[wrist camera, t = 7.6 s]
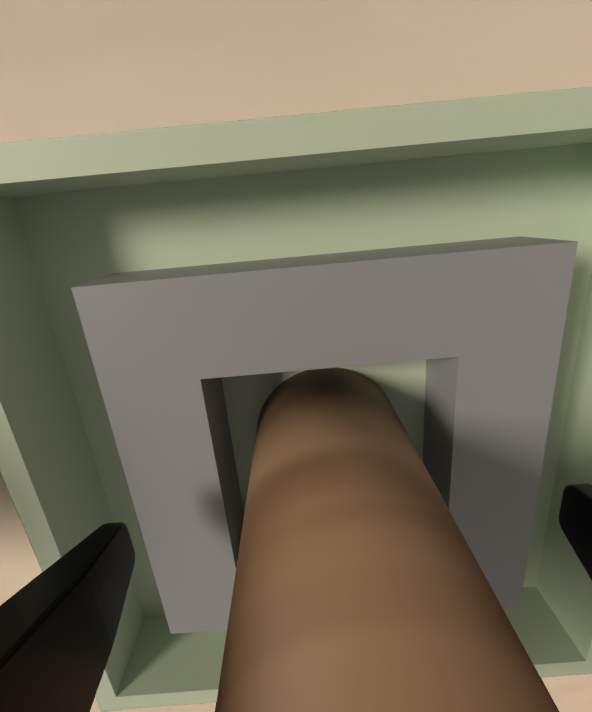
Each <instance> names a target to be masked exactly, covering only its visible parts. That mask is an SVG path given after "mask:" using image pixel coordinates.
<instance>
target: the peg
mask: <svg viewBox="0 0 592 712" xmlns="http://www.w3.org/2000/svg"><path fill="white" fill-rule="evenodd" d="M215 712H559V710H558V709H557V707H556V705H555V703H554V701H553V699H552V698H551V696H550V694H549V692H548V690H547V688H546V687H545V685H544V683H543V681H542V679H541V677H540V676H539V674H538V672H537V670H536V668H535V666H534V665H533V663H532V661H531V659H530V657H529V655H528V654H527V652H526V650H525V648H524V646H523V644H522V643H521V641H520V639H519V637H518V635H517V633H516V632H515V630H514V628H513V626H512V624H511V622H510V621H509V619H508V617H507V615H506V613H505V611H504V610H503V608H502V606H501V604H500V602H499V600H498V599H497V597H496V595H495V593H494V591H493V590H492V588H491V586H490V584H489V582H488V580H487V579H486V577H485V575H484V573H483V571H482V569H481V568H480V566H479V564H478V562H477V560H476V558H475V557H474V555H473V553H472V551H471V549H470V547H469V546H468V544H467V542H466V540H465V538H464V536H463V535H462V533H461V531H460V529H459V527H458V525H457V524H456V522H455V520H454V518H453V516H452V514H451V513H450V511H449V509H448V507H447V505H446V503H445V502H444V500H443V498H442V496H441V494H440V492H439V491H438V489H437V487H436V485H435V483H434V481H433V480H432V478H431V476H430V474H429V472H428V470H427V469H426V467H425V465H424V463H423V461H422V459H421V458H420V456H419V454H418V452H417V450H416V448H415V447H414V445H413V443H412V441H411V439H410V437H409V436H408V434H407V432H406V430H405V428H404V426H403V425H402V423H401V421H400V419H399V417H398V415H397V414H396V412H395V410H394V408H393V406H392V404H391V403H390V401H389V399H388V397H387V396H386V394H385V393H384V392H383V390H382V389H381V388H380V387H379V386H378V385H377V384H376V383H375V382H373V381H372V380H370V379H369V378H368V377H366V376H364V375H362V374H360V373H358V372H355V371H352V370H349V369H344V368H338V367H335V368H324V369H312V370H306V371H302V372H300V373H298V374H295V375H293V376H291V377H290V378H288V379H286V380H285V381H284V382H282V383H281V384H280V385H278V386H277V387H276V388H275V389H274V390H273V391H272V393H271V394H270V395H269V396H268V398H267V399H266V401H265V403H264V405H263V407H262V409H261V412H260V415H259V419H258V424H257V431H256V438H255V445H254V452H253V458H252V465H251V472H250V479H249V485H248V492H247V499H246V506H245V512H244V519H243V526H242V533H241V539H240V546H239V553H238V560H237V566H236V573H235V580H234V587H233V594H232V600H231V607H230V614H229V621H228V627H227V634H226V641H225V648H224V654H223V661H222V668H221V675H220V681H219V688H218V695H217V702H216V708H215Z"/></svg>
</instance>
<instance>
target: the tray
mask: <svg viewBox="0 0 592 712" xmlns="http://www.w3.org/2000/svg"><path fill="white" fill-rule="evenodd" d="M335 367H338V368H344V369H349V370H352V371H355V372H358V373H360V374H362V375H364V376H366V377H368V378H369V379H370V380H372V381H373V382H375V383H376V384H377V385H378V386H379V387H380V388H381V389H382V390H383V392H384V393H385V394H386V396H387V397H388V399H389V401H390V403H391V404H392V406H393V408H394V410H395V412H396V414H397V415H398V417H399V419H400V421H401V423H402V425H403V426H404V428H405V430H406V432H407V434H408V436H409V437H410V439H411V441H412V443H413V445H414V447H415V448H416V450H417V452H418V454H419V456H420V458H421V459H422V461H423V463H424V465H425V467H426V469H427V470H428V472H429V474H430V476H431V478H432V480H433V481H434V483H435V485H436V487H437V489H438V491H439V492H440V494H441V496H442V498H443V500H444V502H445V503H446V505H447V507H448V509H449V511H450V513H451V514H452V516H453V518H454V520H455V522H456V524H457V525H458V527H459V529H460V531H461V533H462V535H463V536H464V538H465V540H466V542H467V544H468V546H469V547H470V549H471V551H472V553H473V555H474V557H475V558H476V560H477V562H478V564H479V566H480V568H481V569H482V571H483V573H484V575H485V577H486V579H487V580H488V582H489V584H490V586H491V588H492V590H493V591H494V593H495V595H496V597H497V599H498V600H499V602H500V604H501V606H502V608H503V610H504V611H505V613H506V615H507V617H508V619H509V621H510V622H511V624H512V626H513V628H514V630H515V632H516V633H517V635H518V637H519V639H520V641H521V643H522V644H523V646H524V648H525V650H526V652H527V654H528V655H529V657H530V659H531V661H532V663H533V665H534V666H535V668H536V670H537V672H538V674H539V676H540V677H541V678H542V677H555V676H568V675H581V674H592V580H591V579H590V577H589V575H588V574H587V572H586V570H585V568H584V567H583V565H582V563H581V562H580V560H579V558H578V556H577V555H576V553H575V551H574V550H573V548H572V546H571V544H570V543H569V541H568V539H567V538H566V536H565V534H564V532H563V531H562V529H561V526H560V523H559V511H560V505H561V500H562V494H563V490H564V488H565V487H566V486H567V485H570V484H580V483H588V484H591V485H592V87H583V88H573V89H562V90H552V91H541V92H531V93H520V94H510V95H500V96H489V97H479V98H468V99H458V100H447V101H437V102H426V103H416V104H406V105H395V106H385V107H374V108H364V109H353V110H343V111H332V112H322V113H312V114H301V115H291V116H280V117H270V118H259V119H249V120H238V121H228V122H218V123H207V124H197V125H186V126H176V127H165V128H155V129H144V130H134V131H124V132H113V133H103V134H92V135H82V136H71V137H61V138H51V139H40V140H30V141H19V142H9V143H0V472H1V474H2V477H3V479H4V482H5V484H6V486H7V489H8V491H9V493H10V496H11V498H12V501H13V503H14V505H15V508H16V510H17V512H18V515H19V517H20V520H21V522H22V524H23V527H24V529H25V531H26V534H27V536H28V539H29V541H30V543H31V546H32V548H33V551H34V553H35V555H36V558H37V560H38V562H39V565H40V567H41V570H42V572H43V571H45V570H46V569H47V568H48V567H50V566H51V565H52V564H53V563H55V562H56V561H57V560H58V559H60V558H61V557H62V556H63V555H65V554H66V553H67V552H68V551H70V550H71V549H72V548H73V547H75V546H76V545H77V544H79V543H80V542H81V541H82V540H84V539H85V538H86V537H87V536H89V535H90V534H91V533H92V532H94V531H95V530H96V529H97V528H99V527H100V526H101V525H103V524H106V523H114V522H123V523H125V524H126V525H127V527H128V530H129V534H130V537H131V540H132V544H133V547H134V550H135V564H134V568H133V572H132V576H131V580H130V584H129V588H128V591H127V595H126V599H125V603H124V607H123V611H122V614H121V618H120V622H119V626H118V630H117V634H116V637H115V641H114V644H113V647H112V650H111V653H110V656H109V659H108V662H107V665H106V667H105V670H104V673H103V676H102V679H101V681H100V684H99V687H98V690H97V692H96V695H95V698H96V700H97V703H98V705H99V707H100V710H101V711H110V710H123V709H136V708H149V707H162V706H175V705H188V704H201V703H214V702H217V695H218V688H219V681H220V675H221V668H222V661H223V654H224V648H225V641H226V634H227V627H228V621H229V614H230V607H231V600H232V594H233V587H234V580H235V573H236V566H237V560H238V553H239V546H240V539H241V533H242V526H243V519H244V512H245V506H246V499H247V492H248V485H249V479H250V472H251V465H252V458H253V452H254V445H255V438H256V431H257V424H258V419H259V415H260V412H261V409H262V407H263V405H264V403H265V401H266V399H267V398H268V396H269V395H270V394H271V393H272V391H273V390H274V389H275V388H276V387H277V386H278V385H280V384H281V383H282V382H284V381H285V380H286V379H288V378H290V377H291V376H293V375H295V374H298V373H300V372H302V371H306V370H312V369H324V368H335Z"/></svg>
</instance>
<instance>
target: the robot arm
mask: <svg viewBox="0 0 592 712" xmlns="http://www.w3.org/2000/svg"><path fill="white" fill-rule="evenodd" d="M559 523H560V526H561V529H562V531H563V532H564V534H565V536H566V538H567V539H568V541H569V543H570V544H571V546H572V548H573V550H574V551H575V553H576V555H577V556H578V558H579V560H580V562H581V563H582V565H583V567H584V568H585V570H586V572H587V574H588V575H589V577H590V579H591V580H592V485H591V484H588V483H580V484H570V485H567V486H566V487H565V488H564V490H563V494H562V500H561V505H560V511H559ZM134 564H135V550H134V547H133V544H132V540H131V537H130V534H129V530H128V527H127V525H126V524H125V523H123V522H114V523H106V524H103V525H101V526H100V527H99V528H97V529H96V530H95V531H94V532H92V533H91V534H90V535H89V536H87V537H86V538H85V539H84V540H82V541H81V542H80V543H79V544H77V545H76V546H75V547H73V548H72V549H71V550H70V551H68V552H67V553H66V554H65V555H63V556H62V557H61V558H60V559H58V560H57V561H56V562H55V563H53V564H52V565H51V566H50V567H48V568H47V569H46V570H45V571H43V572H42V573H41V574H40V575H38V576H37V577H36V578H35V579H33V580H32V581H31V582H30V583H28V584H27V585H26V586H24V587H23V588H22V589H21V590H19V591H18V592H17V593H16V594H14V595H13V596H12V597H11V598H9V599H8V600H7V601H6V602H4V603H3V604H2V605H1V606H0V712H90V709H91V706H92V703H93V701H94V698H95V695H96V692H97V690H98V687H99V684H100V681H101V679H102V676H103V673H104V670H105V667H106V665H107V662H108V659H109V656H110V653H111V650H112V647H113V644H114V641H115V637H116V634H117V630H118V626H119V622H120V618H121V614H122V611H123V607H124V603H125V599H126V595H127V591H128V588H129V584H130V580H131V576H132V572H133V568H134Z"/></svg>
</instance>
